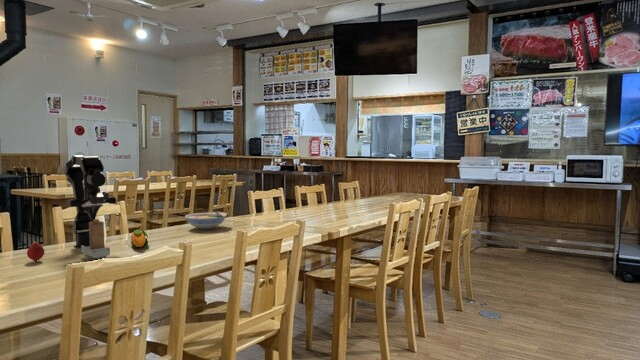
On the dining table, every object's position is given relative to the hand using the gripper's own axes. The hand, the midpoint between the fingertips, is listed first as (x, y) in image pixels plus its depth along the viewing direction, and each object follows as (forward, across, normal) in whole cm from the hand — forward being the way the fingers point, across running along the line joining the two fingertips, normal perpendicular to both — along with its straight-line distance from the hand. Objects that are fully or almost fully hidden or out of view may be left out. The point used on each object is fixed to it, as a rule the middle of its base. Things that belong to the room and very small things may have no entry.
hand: (92, 221), depth 198 cm
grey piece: (+13, -5, -16) cm, 21 cm away
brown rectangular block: (+9, -5, -18) cm, 20 cm away
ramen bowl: (+13, +64, +14) cm, 67 cm away
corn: (+13, +17, -7) cm, 23 cm away
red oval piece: (+13, -23, -3) cm, 26 cm away
